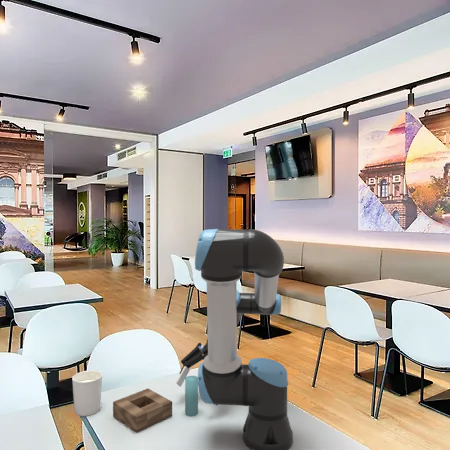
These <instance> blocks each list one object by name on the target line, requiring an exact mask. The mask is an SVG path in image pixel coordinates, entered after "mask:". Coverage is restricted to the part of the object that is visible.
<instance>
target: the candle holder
mask: <svg viewBox="0 0 450 450" xmlns="http://www.w3.org/2000/svg"><path fill="white" fill-rule="evenodd" d="M71 378H72V379H71V380H72V394H73V395H72V396H73V408H74V413H75V415H76V416H79V417H88V416H89V417H90V416H93V415H95V414H97V413H98V412H99V411H100V409H101V404H102V403H101V399H102V398H101V397H102V383H103V382H102V381H103V372H101V371H98V370H84V371H81V372H77V373H75V374H74V375H73V376H72V377H71Z"/></svg>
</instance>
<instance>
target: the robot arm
mask: <svg viewBox="0 0 450 450" xmlns="http://www.w3.org/2000/svg"><path fill="white" fill-rule="evenodd" d="M284 256H285V255H284V252H283V250H282V249H281V246H280V245H279V244H278V243H277V241H275V239H274V238H273V237H272V236H270V235H269V234H267V233H265V232H263V231H261V230H257V229H236V228H235V229H233V228H212V229H204V230H202V231H201V232H200V234H199V235H198V239H197V245H196V249H195V259H194V269H195V270H196V271H198V272H200V277H201V279H202V280H203V281H205V282H206V308H207V309H206V310H207V312H206V314H207V315H206V316H207V317H206V318H207V321H206V322H207V323H206V324H207V339H206V343H205V344H202V343H201V342H198V343H197V344H196V346H195V348H193V349H192V350H191V351H190V352H189V353H187V355H186V356H184V357H183V358H182V359H181V360H180V363H181V364H182V367H181V369H180V371H179V373H178V374H179V375H178V377H177V379H176V381H175V384H176V385H177V386H179V387H182V385H183V383H185V378H186V377H187V376H188V374H189V372H190V371H191V370H190V369H191V368H192V367H193V366H194V365H196V364H198V363H200V362H201V361H202V362H201V363H200V364H199V366H198V371H197V377H198V394H199V396H200V399H201V401H202V402H203V403H204V404H209V405H215V406H218V405H220V406H223V405H224V406H242V407H243V406H244V407H248V414H247V416H246V418H245V422H244V425H243V429H242V441H243V444H244V445H245V446H247V448H249V449H251V450H289V449H290V448H291V447H292V446H293V443H294V441H293V440H294V438H293V437H294V433H293V430H292V427H291V424H290V421H289V416H288V386H289V380H288V371H287V368H286V367H285V366H284V365H283V364H282V363H280V362H278V361H276V360H274V359H270V358H266V357H265V358H264V357H257V358H251V359H250V360H249V361H248V364H243V363H242V358H241V356H239V354H237V353H238V351H237V350H238V349H237V345H238V344H237V343H238V342H237V341H238V340H237V338H238V337H237V327H238V324H239V322H240V320H241V319H242V317H243V316H244V315H264V316H265V315H266V316H272V315H275V316H277V315H280V314H281V311H282V296H281V295H280V293H278V285H279V284H278V283H279V277H280V274H281V273H282V271H283V269H284V265H285V257H284ZM242 272H253V273H254V292H240V291H239V290H238V289H237V282H238V281H239V280H241V278H242V277H243V276H242V275H243V274H242ZM288 448H289V449H288Z"/></svg>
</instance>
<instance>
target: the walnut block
mask: <svg viewBox="0 0 450 450" xmlns="http://www.w3.org/2000/svg"><path fill="white" fill-rule="evenodd" d="M112 417H114V419H116V420H118V421H119V422H121V423H122V424H123V425H125V426H126V427H127V428H128V429H129V430H131V431H133V432H134V433H136V434H137V433H139V432H142V431H145V430H146V429H149V428H150V427H153V426H154V425H157V424H159V423H161V422H163V421H165V420H167V419H170V418H171V417H173V401H172V400H171V399H168V398H166V397H165V396H163V395H162V394H159V393H157V392H156V391H153V390H151V389H150V388H145V389H143V390H140V391H137V392H135V393H132V394H129V395H127V396H125V397H122V398H120V399H117V400H114V401H113V402H112Z"/></svg>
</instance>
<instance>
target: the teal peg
mask: <svg viewBox="0 0 450 450" xmlns="http://www.w3.org/2000/svg"><path fill="white" fill-rule="evenodd" d="M184 386H185V387H184V391H185V392H184V403H185V404H184V414H185V415H186V416H188V417H196V416H197V415H198V413H199V387H198V375H197V376H196V375H187V376H186V378H185V380H184Z"/></svg>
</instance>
